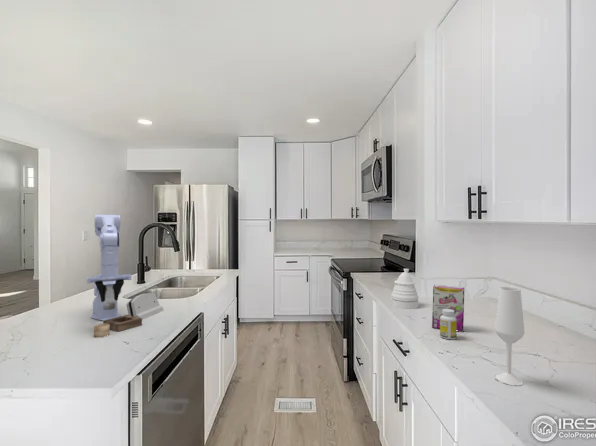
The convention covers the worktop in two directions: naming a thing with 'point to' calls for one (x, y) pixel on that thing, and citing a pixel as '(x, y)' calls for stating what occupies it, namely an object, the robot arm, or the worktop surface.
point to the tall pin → (109, 296)
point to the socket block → (123, 322)
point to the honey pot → (404, 292)
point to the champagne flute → (509, 326)
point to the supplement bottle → (448, 324)
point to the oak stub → (101, 330)
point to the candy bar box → (448, 304)
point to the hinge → (144, 306)
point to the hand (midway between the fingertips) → (109, 300)
